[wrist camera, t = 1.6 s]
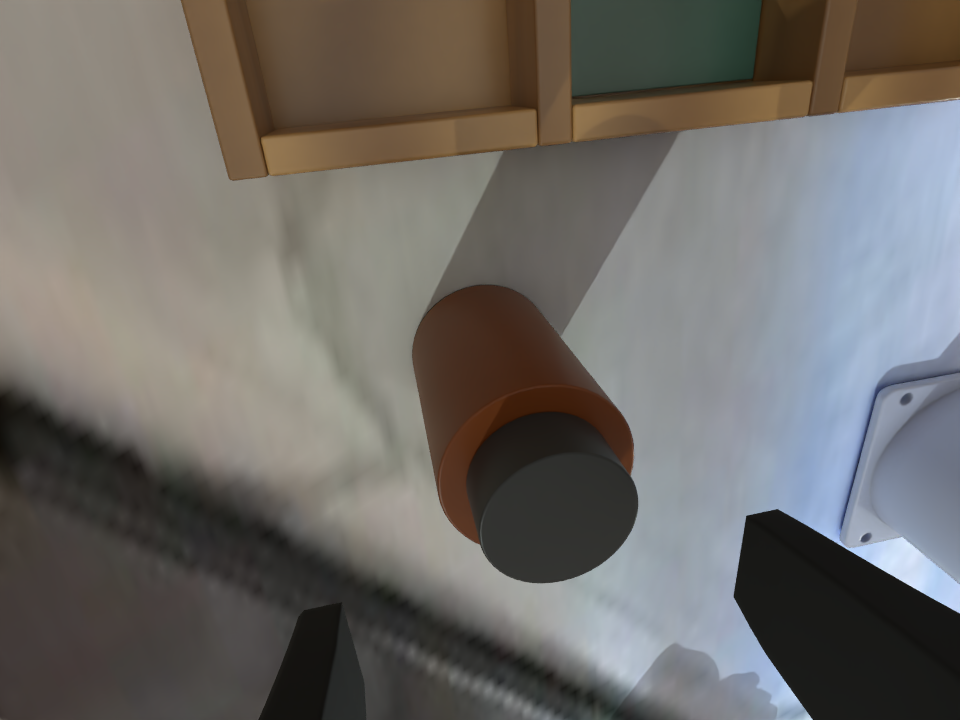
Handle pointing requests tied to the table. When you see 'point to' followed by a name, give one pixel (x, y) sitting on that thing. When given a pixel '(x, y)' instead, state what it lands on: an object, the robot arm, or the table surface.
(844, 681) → the robot arm
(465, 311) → the spice bottle
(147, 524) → the table surface
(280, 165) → the spice tray
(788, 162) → the table surface
